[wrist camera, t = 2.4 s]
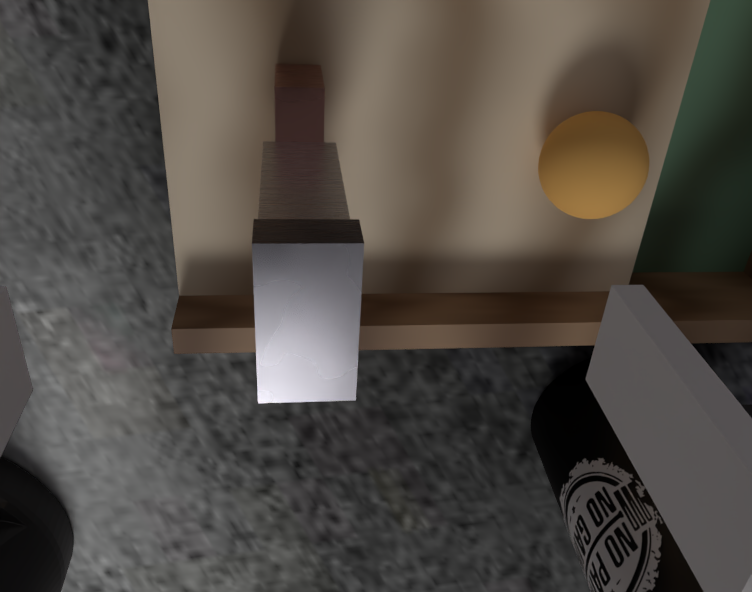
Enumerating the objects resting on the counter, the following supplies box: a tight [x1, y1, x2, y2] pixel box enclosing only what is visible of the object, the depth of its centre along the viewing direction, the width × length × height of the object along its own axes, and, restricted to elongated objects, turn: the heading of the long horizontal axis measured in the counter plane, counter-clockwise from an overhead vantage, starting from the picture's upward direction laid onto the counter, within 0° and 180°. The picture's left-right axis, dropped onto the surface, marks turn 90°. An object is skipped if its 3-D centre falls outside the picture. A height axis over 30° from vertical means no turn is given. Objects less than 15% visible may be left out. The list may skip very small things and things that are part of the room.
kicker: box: [252, 63, 364, 403], centre depth 21 cm, size 2×6×12 cm, turn 177°
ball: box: [538, 111, 649, 219], centre depth 26 cm, size 4×4×4 cm
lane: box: [148, 0, 752, 354], centre depth 27 cm, size 28×16×5 cm, turn 87°
